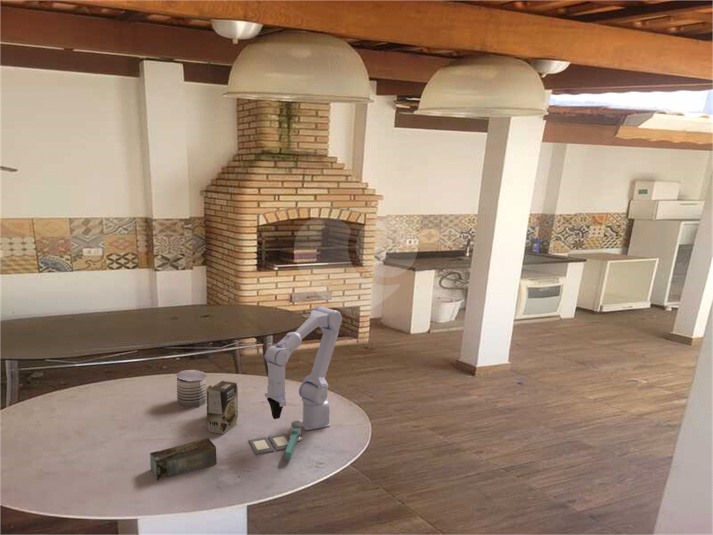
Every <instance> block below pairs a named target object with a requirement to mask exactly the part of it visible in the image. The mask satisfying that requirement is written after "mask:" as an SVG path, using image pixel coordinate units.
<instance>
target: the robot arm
mask: <svg viewBox="0 0 713 535" xmlns="http://www.w3.org/2000/svg"><path fill="white" fill-rule="evenodd" d="M342 321H343V316H342V314H341V312H340V311H339V310H335V309H331V308H327V307H325V306H322V305H317V306H316V307H314V309H313V310H311V311H310V316H309V317H308V318H307V319H306V320H305V321H304V322H303V323H302V324H301V325H300V326H299V328H297V329H296V331H290V332H288V333H286V335H285V336H284V337H283V338H282V339H280V340H279V341H278V342H277V343H276V344H275V345H270V346H269V347H268V348H267V349H266V351H265V354H264V356H263V357H264V360H265V361H266V364H267V387H266V388H267V389H266V390H267V392H266V393H264V397H265V398H266V400H267V401H268V404H269V406H270V407H269V408H270V411H271V416H272V419H274V420H276V419H280V418H281V414H282V411H283V408H284V407H286V406H287V400H286V364H287V363H288V362H289V359H290V357H291V355H292V354H293V353H294V351H296V350H297V349H298V348H299V347H300V346H301V345H302V342H303V341H302V340H303V339H304V338H305V337H307V336H308V335H309V334H310V333H311V332H313V331H315V329H316V328H319V329H320V330H321V332H322V336H321V338H320V339H321V340H320V343H319V346H318V350H317V352H316V355H315V358H314V362H313V365H312V369H311V372H310V374H309V375H306V376H304V378H303V381H302V383H301V384H300V386H299V388H298V395H299V397H301V401H302V419H299V420H298V421H300V422H302V427H303V428H304V430H305V431H309V430H311V431H312V430H315V429H321V428H327V427H330V426H331V424H330V404H329V402H328V400H327V398H328V389H329V383H328V382H327V380H326V375H327V372H328V370H329V365H330V362H331V360H332V355H333V353H334V349H335V346H336V342H337V339H338V337H339V332H340V328H341V324H342Z"/></svg>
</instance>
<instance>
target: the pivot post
mask: <svg viewBox="0 0 713 535" xmlns="http://www.w3.org/2000/svg"><path fill="white" fill-rule="evenodd" d="M301 428H302V427H300V428H298V439H297V442H296V443H298V442H302V441H303V440H305V439H304V438H305V436H304V435H303V434H301ZM291 435H292V433H291V434H290V435H289V436H288V439H289V440H290V437H291Z"/></svg>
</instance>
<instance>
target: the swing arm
mask: <svg viewBox="0 0 713 535" xmlns="http://www.w3.org/2000/svg"><path fill="white" fill-rule="evenodd" d="M290 426H291V428H292V430H291V434H292V435H291V434H290V435H291V437H290V439H289V443H288V446H287V448H286V450H285V452H284V459H285V460H289V461H290V460H292V457H293V453H294V451H295V447H296V445H297V443H298V442H297V439H298V428H300V427H301V428H302V427H303V426H302V422H300V421H299V420H295V421H292V422H291V424H290Z"/></svg>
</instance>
